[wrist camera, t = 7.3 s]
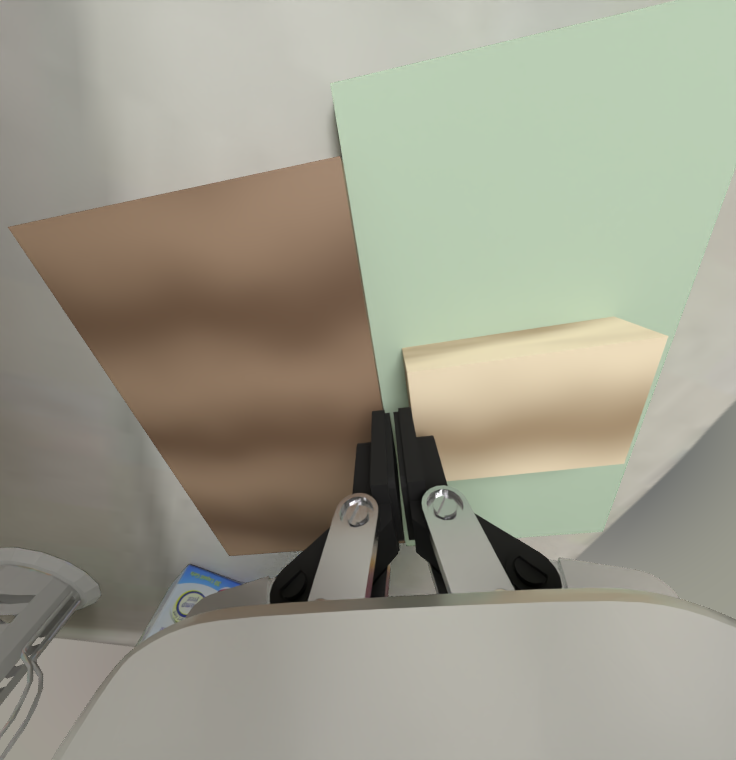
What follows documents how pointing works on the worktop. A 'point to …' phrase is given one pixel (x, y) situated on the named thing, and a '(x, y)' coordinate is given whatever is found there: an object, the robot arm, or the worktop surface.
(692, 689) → the robot arm
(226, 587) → the medicine box
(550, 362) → the birch slab
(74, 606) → the french press
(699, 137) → the mat
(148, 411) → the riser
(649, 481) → the worktop surface
